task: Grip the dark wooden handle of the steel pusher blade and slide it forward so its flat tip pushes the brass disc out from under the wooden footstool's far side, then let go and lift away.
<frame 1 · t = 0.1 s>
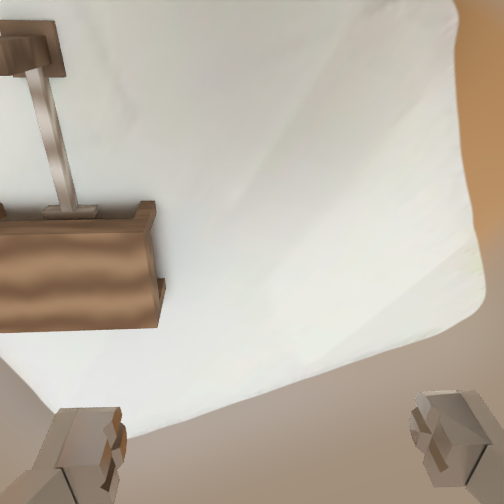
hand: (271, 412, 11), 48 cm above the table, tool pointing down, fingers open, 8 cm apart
wooden footstool: (83, 248, 62), on the table
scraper: (35, 49, 48), on the table
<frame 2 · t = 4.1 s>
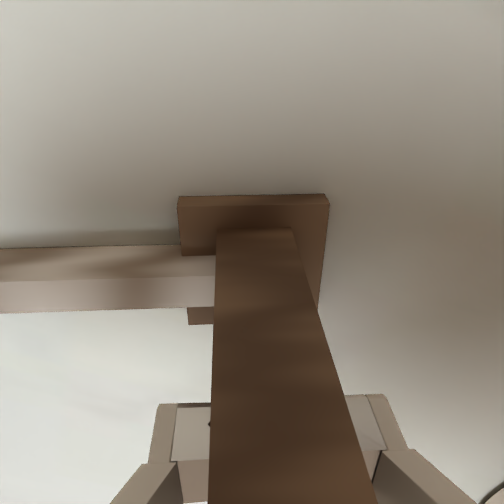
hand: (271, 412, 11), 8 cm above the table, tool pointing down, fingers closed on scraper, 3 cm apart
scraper: (252, 257, 18), on the table, touching gripper
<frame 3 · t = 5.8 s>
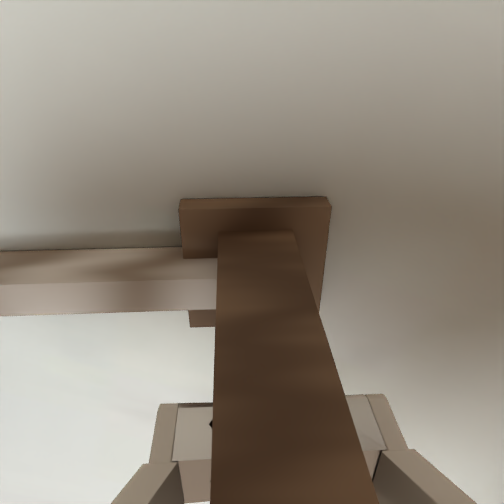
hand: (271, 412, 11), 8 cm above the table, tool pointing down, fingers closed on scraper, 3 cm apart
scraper: (253, 259, 18), on the table, touching gripper
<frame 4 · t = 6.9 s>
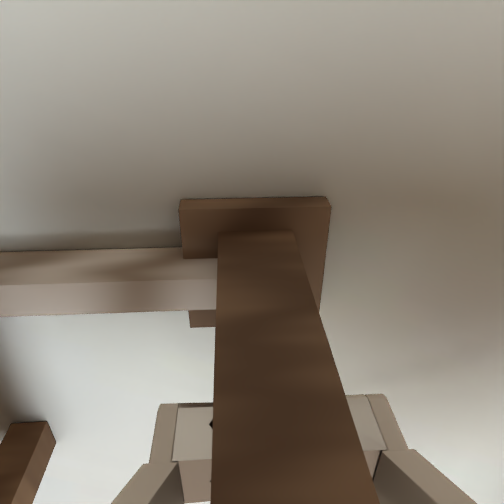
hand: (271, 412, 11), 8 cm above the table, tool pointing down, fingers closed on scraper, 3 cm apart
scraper: (253, 259, 18), on the table, touching gripper
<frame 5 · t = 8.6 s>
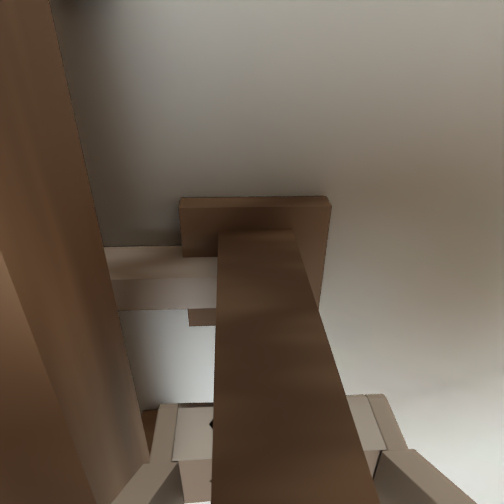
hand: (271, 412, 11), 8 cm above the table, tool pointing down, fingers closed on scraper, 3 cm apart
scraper: (253, 258, 18), on the table, touching gripper
when the fingers open (8 cm above the table, at t = 9.9 s): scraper stays where it is, on the table.
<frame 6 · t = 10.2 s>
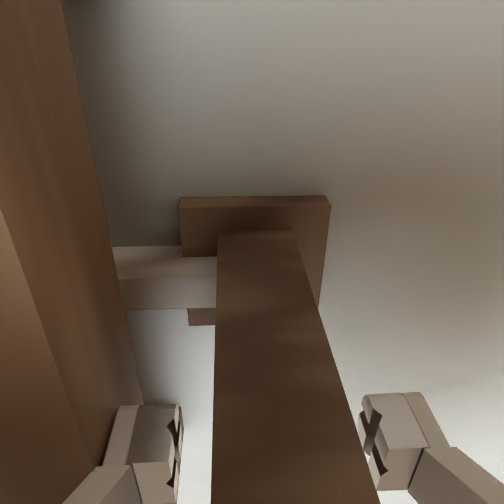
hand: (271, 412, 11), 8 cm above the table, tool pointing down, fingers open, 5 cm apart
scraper: (252, 258, 18), on the table
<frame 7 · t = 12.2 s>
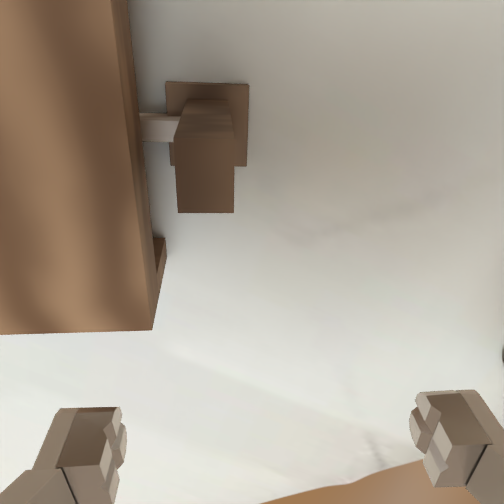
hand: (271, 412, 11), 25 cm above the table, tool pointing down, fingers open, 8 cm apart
wooden footstool: (46, 121, 29), on the table
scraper: (208, 124, 31), on the table
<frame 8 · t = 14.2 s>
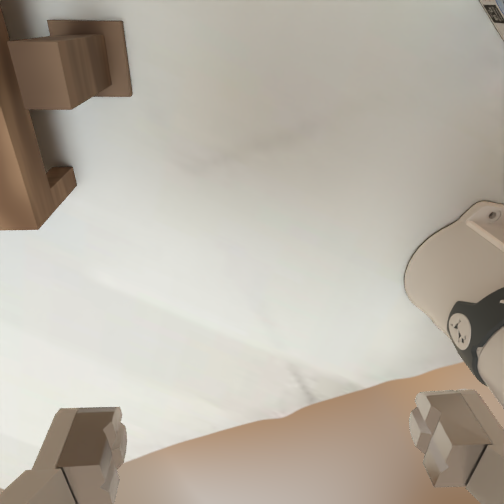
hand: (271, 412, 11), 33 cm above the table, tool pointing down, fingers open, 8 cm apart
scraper: (93, 59, 35), on the table
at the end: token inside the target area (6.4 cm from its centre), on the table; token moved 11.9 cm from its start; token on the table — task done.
